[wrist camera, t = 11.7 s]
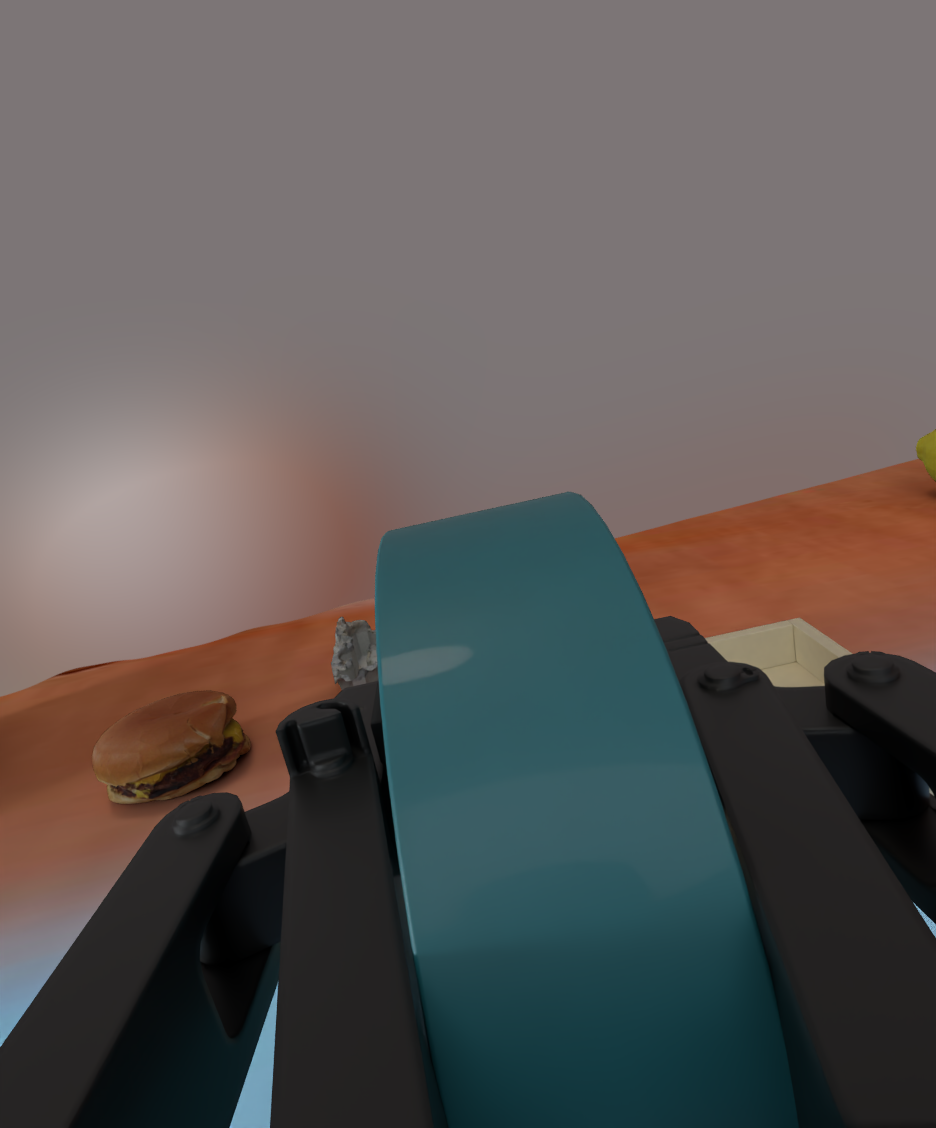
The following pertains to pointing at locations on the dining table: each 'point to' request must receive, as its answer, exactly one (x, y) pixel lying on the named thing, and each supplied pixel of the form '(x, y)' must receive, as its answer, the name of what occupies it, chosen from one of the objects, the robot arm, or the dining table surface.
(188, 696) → the burger
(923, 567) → the dining table surface
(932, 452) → the lemon
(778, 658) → the tray
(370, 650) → the egg carton
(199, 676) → the dining table surface
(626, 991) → the disc
